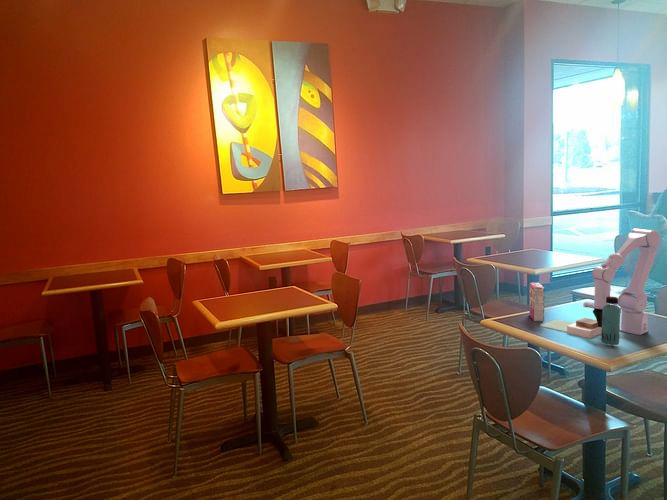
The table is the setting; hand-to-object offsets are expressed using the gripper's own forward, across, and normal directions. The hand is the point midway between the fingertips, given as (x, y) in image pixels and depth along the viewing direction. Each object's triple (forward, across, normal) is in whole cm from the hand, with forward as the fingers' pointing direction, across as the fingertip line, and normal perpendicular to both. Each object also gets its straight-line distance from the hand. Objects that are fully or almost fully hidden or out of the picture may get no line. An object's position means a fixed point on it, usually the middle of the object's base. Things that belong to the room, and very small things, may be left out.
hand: (600, 326), depth 206 cm
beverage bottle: (+4, +9, -11) cm, 15 cm away
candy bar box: (+4, -32, +3) cm, 32 cm away
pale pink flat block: (+4, -6, 0) cm, 7 cm away
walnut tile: (+1, -5, 0) cm, 5 cm away
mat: (+4, -18, 0) cm, 18 cm away
